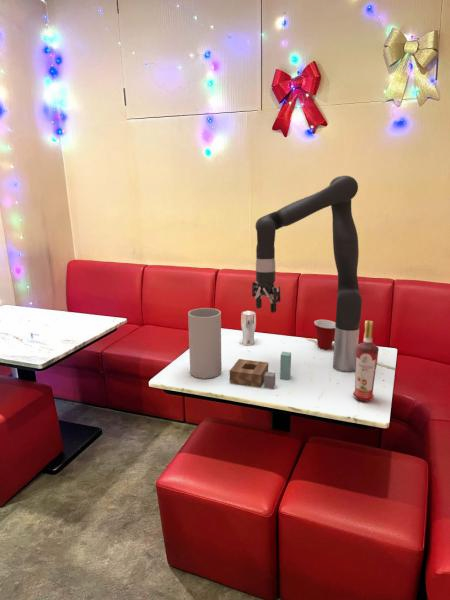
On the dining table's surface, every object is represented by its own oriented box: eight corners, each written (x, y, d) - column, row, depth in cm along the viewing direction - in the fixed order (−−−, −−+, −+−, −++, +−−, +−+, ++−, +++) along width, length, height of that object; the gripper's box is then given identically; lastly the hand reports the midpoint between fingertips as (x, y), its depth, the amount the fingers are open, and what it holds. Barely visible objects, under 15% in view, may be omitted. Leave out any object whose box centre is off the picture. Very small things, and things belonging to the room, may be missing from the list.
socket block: (268, 374, 168) (268, 362, 167) (260, 387, 157) (260, 375, 156) (239, 370, 172) (239, 358, 171) (229, 383, 161) (229, 370, 160)
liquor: (351, 401, 147) (356, 323, 139) (353, 392, 153) (358, 317, 146) (373, 404, 144) (380, 326, 137) (374, 395, 151) (381, 319, 144)
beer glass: (254, 346, 198) (254, 315, 194) (239, 345, 199) (239, 314, 196) (256, 341, 205) (256, 311, 201) (242, 340, 206) (242, 310, 202)
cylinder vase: (211, 381, 162) (209, 319, 156) (184, 375, 168) (181, 314, 162) (227, 369, 173) (226, 310, 166) (201, 364, 179) (199, 306, 172)
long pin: (290, 376, 166) (291, 352, 164) (288, 380, 163) (289, 355, 161) (281, 375, 167) (282, 351, 165) (279, 379, 164) (280, 354, 162)
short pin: (275, 385, 159) (275, 372, 158) (273, 389, 156) (273, 376, 155) (266, 383, 160) (266, 371, 159) (264, 387, 157) (264, 375, 156)
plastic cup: (336, 353, 189) (337, 327, 186) (311, 350, 192) (312, 325, 189) (337, 344, 199) (339, 320, 196) (314, 342, 202) (315, 318, 199)
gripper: (285, 270, 161) (285, 312, 165) (261, 266, 172) (261, 304, 176) (270, 273, 157) (270, 315, 161) (246, 268, 168) (247, 308, 172)
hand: (265, 310), depth 169 cm, fingers open, 8 cm apart
